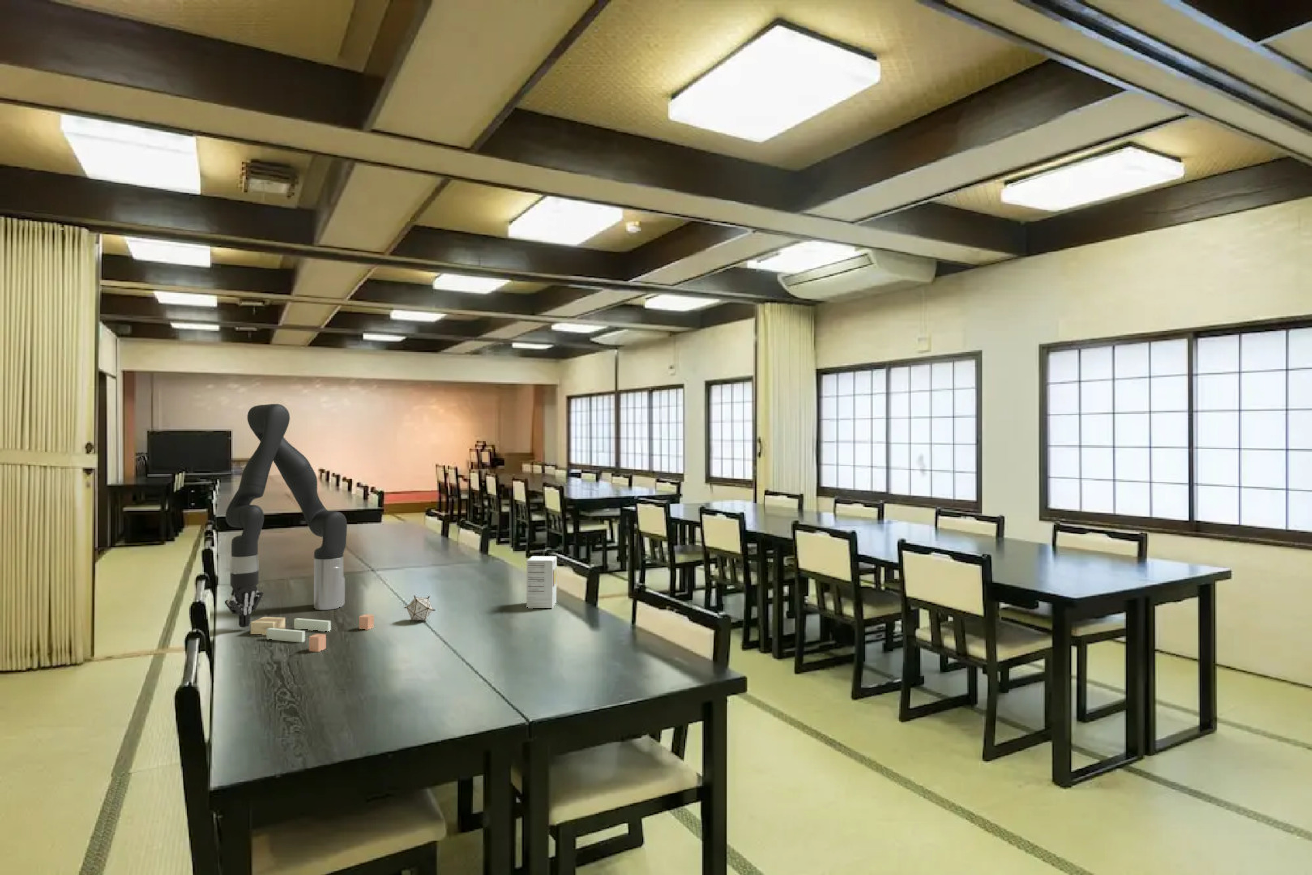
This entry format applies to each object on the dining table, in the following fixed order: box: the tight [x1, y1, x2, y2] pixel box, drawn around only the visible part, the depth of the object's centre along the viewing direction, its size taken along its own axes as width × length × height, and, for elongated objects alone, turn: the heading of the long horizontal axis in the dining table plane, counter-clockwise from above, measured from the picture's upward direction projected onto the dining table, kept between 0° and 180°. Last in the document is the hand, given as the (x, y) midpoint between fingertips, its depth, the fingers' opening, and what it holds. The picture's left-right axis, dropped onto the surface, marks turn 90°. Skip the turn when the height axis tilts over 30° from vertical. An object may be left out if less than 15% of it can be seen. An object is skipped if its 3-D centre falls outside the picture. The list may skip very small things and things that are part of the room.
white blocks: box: [266, 617, 332, 643], centre depth 214 cm, size 12×12×3 cm
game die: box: [403, 595, 436, 623], centre depth 230 cm, size 9×8×10 cm
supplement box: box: [526, 555, 558, 609], centre depth 252 cm, size 10×9×17 cm
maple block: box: [250, 616, 286, 636], centre depth 216 cm, size 6×7×4 cm
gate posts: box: [308, 614, 375, 653], centre depth 210 cm, size 25×3×4 cm, turn 167°
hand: (244, 626), depth 218 cm, fingers closed
